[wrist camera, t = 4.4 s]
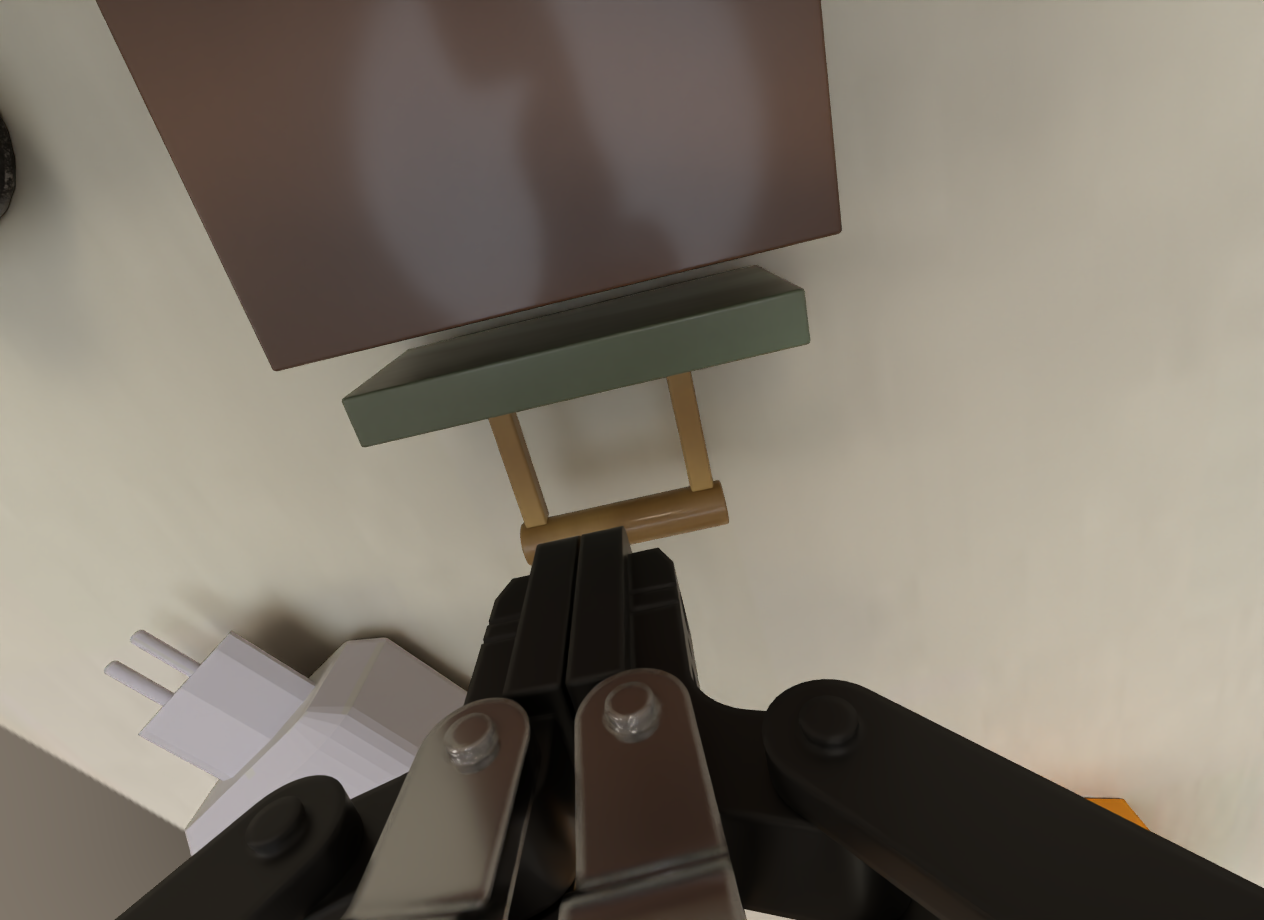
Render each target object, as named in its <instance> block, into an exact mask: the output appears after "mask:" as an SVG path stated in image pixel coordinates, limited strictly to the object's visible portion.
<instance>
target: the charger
mask: <svg viewBox="0 0 1264 920" xmlns="http://www.w3.org/2000/svg"><path fill="white" fill-rule="evenodd" d="M130 642H131V643H132V644H134V645H136V646H137V647H139V648H141V649H142V650H144V651H146V652H148V653H149V654H151V655H153V656H154V657H156V658H158V659H159V660H161V661H163V662H165V663H166V664H168V665H170V666H171V667H173V668H175V669H177V670H178V671H180V672H182V673H183V674H185V675H187V676H189V678H188V679H187V680H186V681H185V682H184V683H183V685H182V686H181V687H180V688H179V689H178V690H177V691H176V692H175V693H173V692H171V691H169V690H168V689H166V688H164V687H162V686H161V685H159V684H157V683H155V682H154V681H152V680H150V679H148V678H147V677H145V676H143V675H141V674H140V673H138V672H136V671H134V670H133V669H131V668H129V667H127V666H126V665H124V664H122V663H120V662H119V661H112V662H111V663H109V664H108V665H107V666H106V667H105V669H104V672H105V674H107V675H109V676H110V677H112V678H114V679H116V680H117V681H119V682H121V683H123V684H125V685H126V686H128V687H130V688H132V689H133V690H135V691H137V692H139V693H141V694H142V695H144V696H146V697H148V698H149V699H151V700H153V701H155V702H157V703H158V704H160V705H162V706H163V707H162V708H161V709H160V710H159V711H158V712H157V713H156V715H155V716H154V717H153V718H152V719H151V720H150V721H149V722H148V724H147V725H146V726H145V727H144V728H143V729H142V730H141V731H140V733H139V734H138V735H139V736H141V737H143V738H145V739H146V740H148V741H150V742H152V743H154V744H156V745H157V746H159V747H161V748H163V749H165V750H167V751H169V752H170V753H172V754H174V755H176V756H178V757H180V758H182V759H183V760H185V761H187V762H189V763H191V764H193V765H194V766H196V767H198V768H200V769H202V770H204V771H206V772H207V773H209V774H211V775H213V776H215V777H217V778H219V780H218V781H217V783H216V784H215V786H214V787H213V789H212V790H211V791H210V793H209V794H208V796H207V797H206V799H205V800H204V802H203V803H202V805H201V806H200V808H199V809H198V811H197V812H196V814H195V815H194V816H193V818H192V819H191V821H190V822H189V824H188V825H187V827H186V829H185V833H186V837H187V841H188V845H189V848H190V852H191V856H193V855H194V854H195V853H196V852H198V851H199V850H200V849H201V848H203V847H204V846H205V845H206V844H207V843H209V842H210V841H211V840H212V839H213V838H215V837H216V836H217V835H218V834H220V833H221V832H222V831H223V830H224V829H226V828H227V827H228V826H229V825H230V824H232V823H233V822H234V821H235V820H237V819H238V818H239V817H240V816H241V815H243V814H244V813H245V812H246V811H247V810H249V809H250V808H251V807H252V806H254V805H255V804H256V803H257V802H259V801H260V800H261V799H263V798H264V797H265V796H267V795H268V794H270V793H271V792H273V791H274V790H276V789H278V788H280V787H282V786H284V785H285V784H287V783H290V782H292V781H295V780H297V779H300V778H304V777H307V776H314V775H326V776H330V777H333V778H335V779H337V780H338V781H339V782H340V783H341V784H342V786H343V788H344V789H345V791H346V793H347V794H348V796H349V798H350V799H352V798H354V797H356V796H358V795H360V794H363V793H365V792H367V791H369V790H371V789H373V788H375V787H378V786H380V785H382V784H384V783H386V782H388V781H390V780H393V779H395V778H397V777H399V776H401V775H403V774H405V773H407V772H409V770H410V767H411V765H412V763H413V760H414V758H415V756H416V754H417V751H418V749H419V747H420V745H421V743H422V742H423V740H424V739H425V737H426V736H427V734H428V733H429V732H430V731H431V730H432V729H433V728H434V726H435V725H436V724H438V723H439V722H440V721H441V720H442V719H443V718H445V717H446V716H447V715H449V714H450V713H451V712H453V711H455V710H457V709H458V708H460V707H462V706H463V705H464V702H465V698H466V695H467V691H465V690H464V689H462V688H461V687H459V686H458V685H456V684H455V683H453V682H452V681H450V680H449V679H447V678H446V677H444V676H443V675H441V674H440V673H438V672H437V671H435V670H434V669H432V668H431V667H429V666H428V665H426V664H425V663H424V662H422V661H421V660H419V659H418V658H416V657H415V656H413V655H412V654H410V653H409V652H407V651H406V650H404V649H403V648H401V647H400V646H398V645H397V644H395V643H394V642H392V641H391V640H389V639H388V638H385V637H384V638H373V639H362V640H350V641H346V642H345V643H344V644H343V645H342V646H341V647H339V648H338V649H337V650H336V651H335V652H334V653H333V654H332V655H331V656H330V657H329V658H328V659H327V660H326V661H325V662H324V663H323V664H322V665H321V666H320V667H319V668H318V669H317V670H316V671H315V672H314V673H313V674H312V675H311V676H310V677H309V678H307V677H305V676H304V675H302V674H300V673H299V672H297V671H295V670H294V669H292V668H291V667H289V666H287V665H286V664H284V663H283V662H281V661H279V660H278V659H276V658H275V657H273V656H271V655H270V654H268V653H267V652H265V651H263V650H262V649H260V648H259V647H257V646H255V645H254V644H252V643H250V642H249V641H247V640H246V639H244V638H242V637H241V636H239V635H238V634H236V633H234V632H233V631H231V632H230V633H229V634H228V635H227V636H226V637H225V638H224V639H223V640H222V641H221V643H220V644H219V645H218V646H217V647H216V648H215V649H214V650H213V651H212V652H211V654H210V655H209V656H208V657H207V658H206V659H205V660H204V661H203V662H202V664H200V663H198V662H196V661H195V660H193V659H191V658H190V657H188V656H186V655H184V654H183V653H181V652H179V651H178V650H176V649H174V648H173V647H171V646H169V645H168V644H166V643H164V642H163V641H161V640H159V639H158V638H156V637H154V636H153V635H151V634H149V633H147V632H146V631H144V630H139V631H137V632H135V633H134V634H133V635H132V636H131V638H130Z"/></svg>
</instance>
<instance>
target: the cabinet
mask: <svg viewBox="0 0 1264 920" xmlns="http://www.w3.org/2000/svg"><path fill="white" fill-rule="evenodd" d="M96 2H97V4H98V6H99V8H100V10H101V13H102V15H103V17H104V19H105V21H106V23H107V25H108V27H109V29H110V31H111V33H112V35H113V38H114V40H115V42H116V44H117V46H118V48H119V50H120V52H121V54H122V56H123V58H124V60H125V63H126V65H127V67H128V69H129V71H130V73H131V75H132V77H133V79H134V81H135V83H136V85H137V88H138V90H139V92H140V94H141V96H142V98H143V100H144V102H145V104H146V106H147V108H148V111H149V113H150V115H151V117H152V119H153V121H154V123H155V125H156V127H157V129H158V131H159V133H160V136H161V138H162V140H163V142H164V144H165V146H166V148H167V150H168V152H169V154H170V156H171V158H172V161H173V163H174V165H175V167H176V169H177V171H178V173H179V175H180V177H181V179H182V181H183V183H184V186H185V188H186V190H187V192H188V194H189V196H190V198H191V200H192V202H193V204H194V206H195V208H196V211H197V213H198V215H199V217H200V219H201V221H202V223H203V225H204V227H205V229H206V231H207V234H208V236H209V238H210V240H211V242H212V244H213V246H214V248H215V250H216V252H217V254H218V256H219V259H220V261H221V263H222V265H223V267H224V269H225V271H226V273H227V275H228V277H229V279H230V281H231V284H232V286H233V288H234V290H235V292H236V294H237V296H238V298H239V300H240V302H241V304H242V306H243V309H244V311H245V313H246V315H247V317H248V319H249V321H250V323H251V325H252V327H253V329H254V332H255V334H256V336H257V338H258V340H259V342H260V344H261V346H262V348H263V350H264V352H265V354H266V357H267V359H268V361H269V363H270V365H271V367H272V369H273V370H274V371H281V370H285V369H289V368H293V367H297V366H301V365H305V364H309V363H313V362H317V361H321V360H325V359H330V358H334V357H338V356H342V355H346V354H350V353H354V352H358V351H362V350H366V349H370V348H374V347H378V346H383V345H387V344H391V343H395V342H399V341H403V340H407V339H411V338H415V337H419V336H423V335H427V334H432V333H436V332H440V331H444V330H448V329H452V328H456V327H460V326H464V325H468V324H472V323H476V322H481V321H485V320H489V319H493V318H497V317H501V316H505V315H509V314H513V313H517V312H521V311H525V310H530V309H534V308H538V307H542V306H546V305H550V304H554V303H558V302H562V301H566V300H570V299H574V298H579V297H583V296H587V295H591V294H595V293H599V292H603V291H607V290H611V289H615V288H619V287H623V286H627V285H632V284H636V283H640V282H644V281H648V280H652V279H656V278H660V277H664V276H668V275H672V274H676V273H681V272H685V271H689V270H693V269H697V268H701V267H705V266H709V265H713V264H717V263H721V262H725V261H730V260H734V259H738V258H742V257H746V256H750V255H754V254H758V253H762V252H766V251H770V250H774V249H779V248H783V247H787V246H791V245H795V244H799V243H803V242H807V241H811V240H815V239H819V238H823V237H827V236H832V235H836V234H839V233H840V232H841V231H842V225H841V214H840V203H839V192H838V182H837V171H836V160H835V149H834V138H833V128H832V117H831V106H830V95H829V84H828V74H827V63H826V52H825V41H824V30H823V20H822V9H821V0H96Z"/></svg>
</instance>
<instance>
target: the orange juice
mask: <svg viewBox="0 0 1264 920" xmlns="http://www.w3.org/2000/svg"><path fill="white" fill-rule="evenodd" d="M1085 799H1087V800H1089V801H1091V802H1093V803H1095V804H1097V805H1099V806H1101V807H1103V808H1105V809H1107V810H1109V811H1111V812H1113V813H1115V814H1117V815H1119V816H1121V817H1123V818H1125V819H1127V820H1129V821H1131V822H1133V823H1135V824H1137V825H1139V826H1141V827H1143V828H1145V829H1147V830H1149V829H1148V828H1147V827H1146V826H1145V824H1144V823H1143V822H1142V821H1141V820H1140V818H1139V817H1138V816H1137V815H1136V814H1135V812H1134V811H1133V810H1132V809H1131V808H1130V806H1129V805H1128V804H1127V803H1126V802H1125V800H1124V799H1088V798H1085ZM1149 831H1150V830H1149Z"/></svg>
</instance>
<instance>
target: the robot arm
mask: <svg viewBox="0 0 1264 920" xmlns="http://www.w3.org/2000/svg"><path fill="white" fill-rule="evenodd" d="M483 640H484V644H482V645H481V649H480V652H479V655H478V659H477V662H476V665H475V668H474V672H473V675H472V678H471V682H470V685H469V688H468V692H467V695H466V698H465V702H464V705H463V706H462V707H460V708H458V709H457V710H455V711H453V712H451V713H450V714H449V715H447V716H446V717H445V718H443V719H442V720H441V721H440V722H439V723H438V724H436V725H435V726H434V728H433V729H432V730H431V731H430V732H429V733H428V734H427V736H426V737H425V739H424V740H423V742H422V743H421V745H420V747H419V749H418V751H417V754H416V756H415V758H414V760H413V763H412V765H411V767H410V770H409V772H407V773H405V774H403V775H401V776H399V777H397V778H395V779H393V780H390V781H388V782H386V783H384V784H382V785H380V786H378V787H375V788H373V789H371V790H369V791H367V792H365V793H363V794H360V795H358V796H356V797H354V798H352V799H350V798H349V796H348V794H347V793H346V791H345V789H344V788H343V786H342V784H341V783H340V782H339V781H338V780H337V779H335V778H333V777H330V776H326V775H314V776H307V777H304V778H300V779H297V780H295V781H292V782H290V783H287V784H285V785H284V786H282V787H280V788H278V789H276V790H274V791H273V792H271V793H270V794H268V795H267V796H265V797H264V798H263V799H261V800H260V801H259V802H257V803H256V804H255V805H254V806H252V807H251V808H250V809H249V810H247V811H246V812H245V813H244V814H243V815H241V816H240V817H239V818H238V819H237V820H235V821H234V822H233V823H232V824H230V825H229V826H228V827H227V828H226V829H224V830H223V831H222V832H221V833H220V834H218V835H217V836H216V837H215V838H213V839H212V840H211V841H210V842H209V843H207V844H206V845H205V846H204V847H203V848H201V849H200V850H199V851H198V852H196V853H195V854H194V855H193V856H192V857H190V858H189V859H188V860H187V861H186V862H184V863H183V864H182V865H181V866H179V867H178V868H177V869H176V870H175V871H173V872H172V873H171V874H170V875H169V876H167V877H166V878H165V879H164V880H163V881H161V882H160V883H159V884H158V885H156V886H155V887H154V888H153V889H152V890H150V891H149V892H148V893H147V894H145V895H144V896H143V897H142V898H141V899H139V900H138V901H137V902H136V903H135V904H133V905H132V906H131V907H130V908H129V909H127V910H126V911H125V912H124V913H122V914H121V915H120V916H119V917H118V918H117V919H115V920H747V919H746V915H745V911H744V909H747V910H752V911H756V912H761V913H766V914H771V915H776V916H781V917H786V918H790V919H795V920H1264V888H1262V887H1260V886H1258V885H1256V884H1254V883H1252V882H1250V881H1248V880H1246V879H1244V878H1242V877H1240V876H1238V875H1236V874H1234V873H1232V872H1230V871H1228V870H1226V869H1224V868H1222V867H1220V866H1218V865H1216V864H1214V863H1212V862H1211V861H1209V860H1207V859H1205V858H1203V857H1201V856H1199V855H1197V854H1195V853H1193V852H1191V851H1189V850H1187V849H1185V848H1183V847H1181V846H1179V845H1177V844H1175V843H1173V842H1171V841H1169V840H1167V839H1165V838H1163V837H1161V836H1159V835H1157V834H1155V833H1153V832H1151V831H1149V830H1147V829H1145V828H1143V827H1141V826H1139V825H1137V824H1135V823H1133V822H1131V821H1129V820H1127V819H1125V818H1123V817H1121V816H1119V815H1117V814H1115V813H1113V812H1111V811H1109V810H1107V809H1105V808H1103V807H1101V806H1099V805H1097V804H1095V803H1093V802H1091V801H1089V800H1087V799H1085V798H1083V797H1081V796H1079V795H1077V794H1076V793H1074V792H1072V791H1070V790H1068V789H1066V788H1064V787H1062V786H1060V785H1058V784H1056V783H1054V782H1052V781H1050V780H1048V779H1046V778H1044V777H1042V776H1040V775H1038V774H1036V773H1034V772H1032V771H1030V770H1028V769H1026V768H1024V767H1022V766H1020V765H1018V764H1016V763H1014V762H1012V761H1010V760H1008V759H1006V758H1004V757H1002V756H1000V755H998V754H996V753H994V752H992V751H990V750H988V749H986V748H984V747H982V746H980V745H978V744H976V743H974V742H972V741H970V740H968V739H966V738H964V737H962V736H960V735H958V734H956V733H954V732H952V731H950V730H948V729H946V728H944V727H942V726H941V725H939V724H937V723H935V722H933V721H931V720H929V719H927V718H925V717H923V716H921V715H919V714H917V713H915V712H913V711H911V710H909V709H907V708H905V707H903V706H901V705H899V704H897V703H895V702H893V701H891V700H889V699H887V698H885V697H883V696H881V695H879V694H877V693H875V692H873V691H871V690H869V689H867V688H865V687H862V686H860V685H858V684H854V683H851V682H847V681H841V680H833V679H821V680H812V681H808V682H804V683H800V684H798V685H795V686H793V687H791V688H789V689H787V690H786V691H784V692H783V693H781V694H780V695H779V696H778V697H776V698H775V700H774V701H773V702H772V703H771V704H770V706H769V707H768V709H767V711H758V710H746V709H739V708H733V707H730V706H726V705H723V704H721V703H719V702H716V701H714V700H713V699H711V698H710V697H708V696H707V695H705V694H704V693H703V692H702V691H701V690H700V687H699V681H698V675H697V669H696V663H695V658H694V651H693V645H692V639H691V633H690V629H689V625H688V621H687V617H686V613H685V609H684V605H683V600H682V596H681V592H680V588H679V584H678V580H677V576H676V572H675V567H674V563H673V561H672V560H671V559H670V558H668V557H667V556H666V555H665V554H664V553H663V552H662V551H661V550H660V549H659V548H654V549H650V550H645V551H640V552H636V553H632V551H631V547H630V543H629V540H628V536H627V533H626V530H625V528H624V526H619V527H615V528H610V529H605V530H601V531H596V532H591V533H587V534H582V535H581V536H579V535H578V536H574V537H569V538H564V539H560V540H555V541H550V542H546V543H541V544H538V545H537V547H536V550H535V555H534V559H533V563H532V568H531V572H530V575H528V576H523V577H519V578H514V579H512V580H511V581H510V583H509V584H508V585H507V586H506V587H505V589H504V590H503V591H502V592H501V593H500V595H499V596H498V597H497V598H496V599H495V602H494V606H493V609H492V612H491V615H490V619H489V625H488V626H487V629H486V632H485V635H484V639H483Z"/></svg>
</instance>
